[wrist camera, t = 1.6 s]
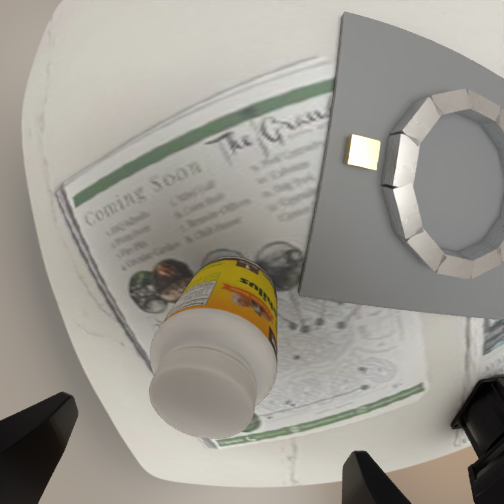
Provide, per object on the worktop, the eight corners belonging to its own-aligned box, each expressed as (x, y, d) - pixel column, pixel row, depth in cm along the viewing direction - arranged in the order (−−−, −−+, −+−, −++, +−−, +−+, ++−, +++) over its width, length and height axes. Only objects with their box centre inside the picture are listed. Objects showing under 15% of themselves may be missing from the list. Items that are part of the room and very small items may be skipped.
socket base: (498, 315, 19) (515, 331, 16) (298, 290, 19) (301, 310, 17) (538, 108, 13) (560, 107, 11) (341, 16, 14) (351, -4, 11)
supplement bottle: (290, 314, 20) (299, 436, 10) (216, 341, 21) (180, 457, 11) (254, 238, 18) (231, 325, 9) (177, 273, 19) (101, 367, 10)
